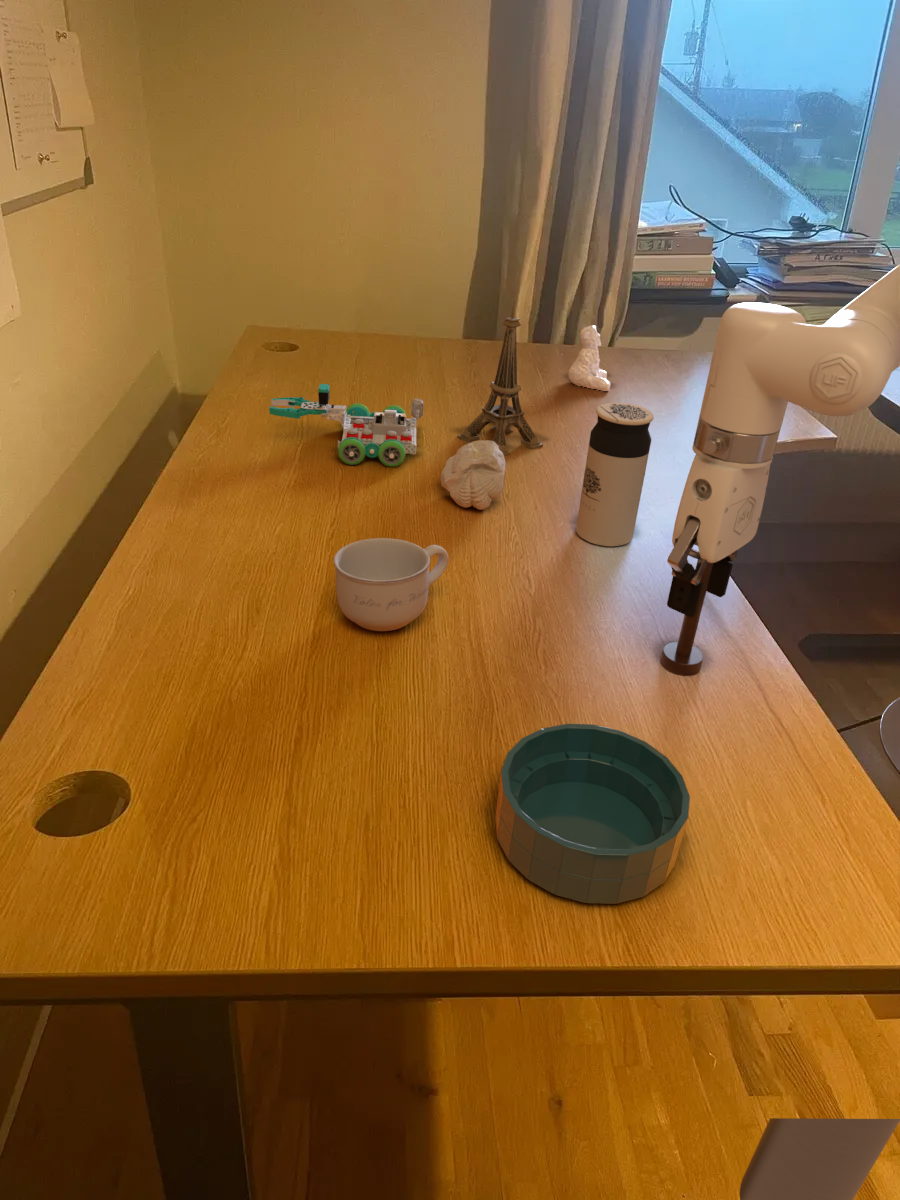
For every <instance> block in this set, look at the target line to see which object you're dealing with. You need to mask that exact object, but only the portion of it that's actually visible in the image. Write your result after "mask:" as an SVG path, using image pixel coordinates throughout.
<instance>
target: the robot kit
mask: <svg viewBox="0 0 900 1200" xmlns="http://www.w3.org/2000/svg"><path fill="white" fill-rule="evenodd" d="M318 386H319V387H318V391H317V392H318V394H317V395H318V401H310V400H309V399H308V400H307V399H304V397H302V396H294V397H293V396H292V397H276V398H271V400H270V401H271V402H270V404H271V405H270V406H269V407H268V408H269V409H268V410H269V411H268V412H269V415H272V416H277V417H283V418H290V419H297V420H299V419H301V417H304V416H309V415H313V416H314V415H315V416H316V415H319V416H321V418H322V420H325V418H326V419H327V420H328V421H338V422H339V423H340V425H341V428H342V429H343V430H342V431H343V433H342V438H341V441H340V440H339V439H337V455H338V458H339V459H340V461H341V462H343V463H344V464H346V465H347V466H357V465H359V464H360V463H362V462H363V461H364V459H365V457H368V458H370V459H371V458H372V459H373V458H374V459H375V458H377V457H378V459H379V461H380V463H381V464H382V465H384V466H385V467H389V468H396V467H398V466H400V465H402V464H403V462H404V461H405V459H406V454H410V455H411V456H415V455H416V454H417V449H418V448H417V446H418V443H417V424H418V422H417V421H418V419H420V418H422V417H423V416H424V401H423V400H422V399H421V398H414V399H413V400H411V408H410V409H411V410H410V411H411V412H410V416H412V418H407V413H406V411H405V410H404V409H403V408H402V407H401V406H400V405H395V404H391V405H388V406H386V407H385V408H384V409H383V410H382V412H378V411H372V412H370V409H369V408H368V407H367V406H366V405H364V404H362V403H360V402H359V403H358V402H356V403H352V404H350V405H349V406H348V407H347V406H346V404H345V405H339V404H337V405H335V404H329V402H330V388H331V387H330V384H328V383H320V384H319V385H318ZM279 406H283V407H279ZM284 406H285V407H284ZM296 407H298V408H296Z"/></svg>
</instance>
